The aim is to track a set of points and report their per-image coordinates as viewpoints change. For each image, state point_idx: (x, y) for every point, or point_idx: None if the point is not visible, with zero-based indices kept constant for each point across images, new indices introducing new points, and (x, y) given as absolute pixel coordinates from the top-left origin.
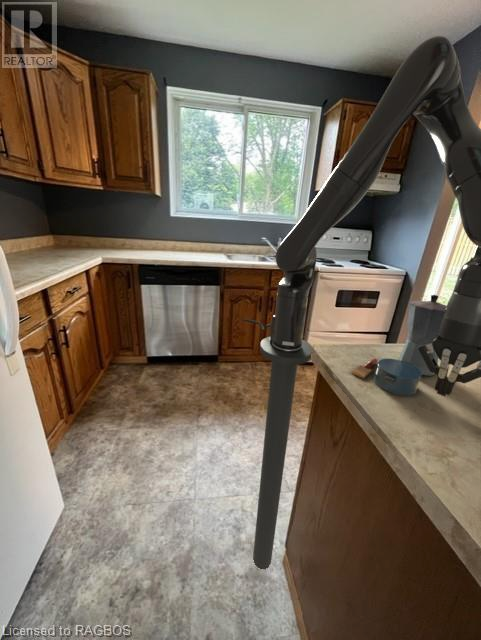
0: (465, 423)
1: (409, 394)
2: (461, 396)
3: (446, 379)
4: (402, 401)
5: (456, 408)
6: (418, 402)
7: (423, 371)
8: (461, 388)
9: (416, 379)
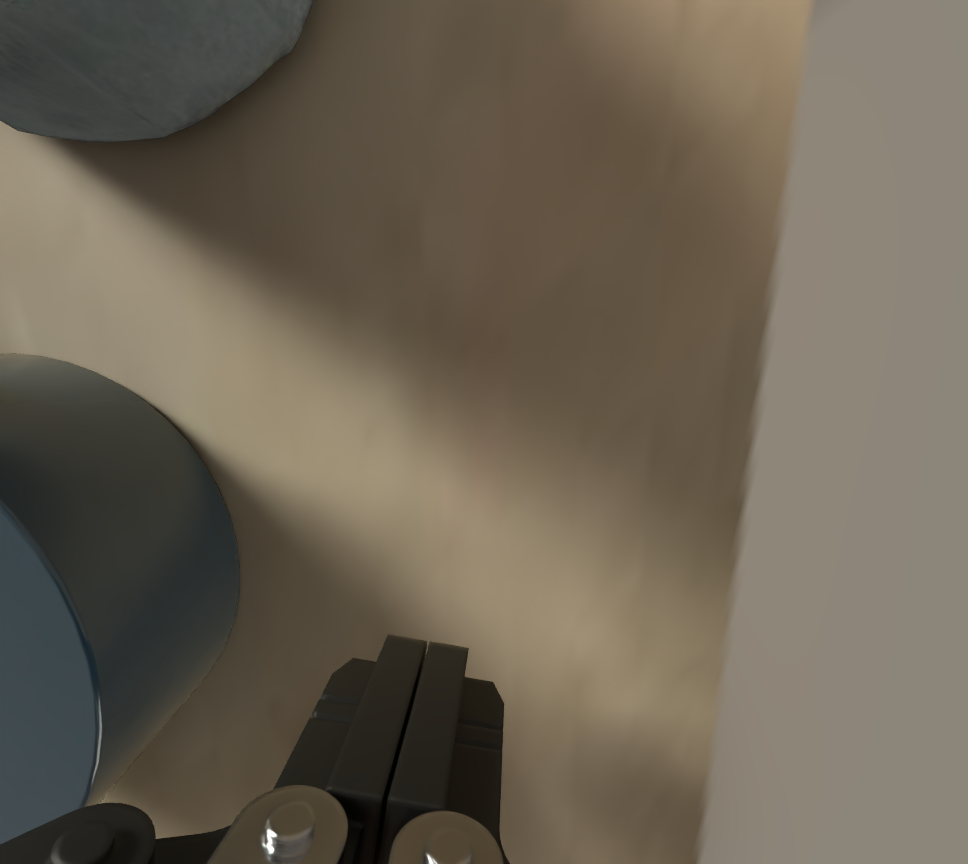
0: (639, 802)
1: (201, 680)
2: (638, 326)
3: (377, 851)
4: (189, 797)
5: (582, 617)
6: (295, 731)
7: (171, 92)
8: (651, 93)
9: (97, 795)
